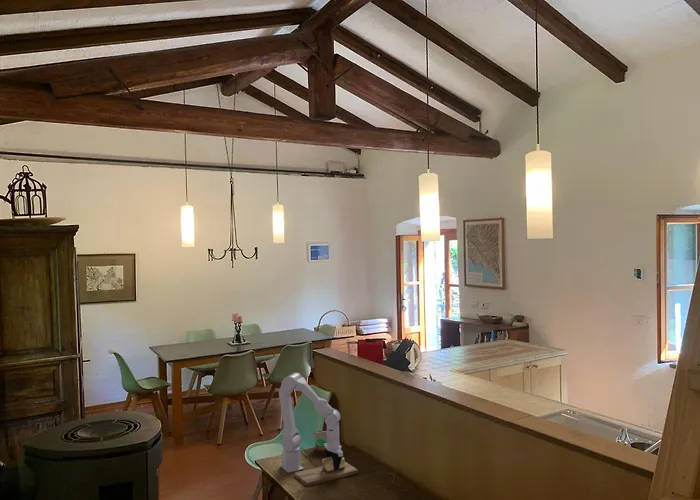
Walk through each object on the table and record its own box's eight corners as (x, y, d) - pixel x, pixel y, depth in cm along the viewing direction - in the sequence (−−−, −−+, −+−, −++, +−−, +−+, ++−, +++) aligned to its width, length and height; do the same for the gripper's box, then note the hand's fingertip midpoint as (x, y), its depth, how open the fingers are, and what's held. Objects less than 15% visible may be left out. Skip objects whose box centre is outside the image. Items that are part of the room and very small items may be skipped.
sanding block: (322, 469, 249) (322, 458, 249) (339, 465, 254) (339, 454, 254) (327, 473, 245) (327, 462, 245) (344, 469, 249) (344, 458, 249)
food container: (310, 452, 275) (310, 433, 275) (313, 448, 281) (313, 429, 281) (334, 453, 273) (334, 433, 273) (336, 449, 279) (336, 430, 279)
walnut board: (294, 476, 246) (294, 472, 246) (343, 464, 259) (343, 460, 259) (306, 486, 235) (306, 482, 235) (358, 473, 248) (358, 469, 248)
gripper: (348, 440, 245) (349, 470, 245) (333, 432, 258) (333, 460, 257) (334, 443, 241) (335, 474, 241) (319, 434, 254) (320, 463, 254)
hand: (333, 467), depth 249 cm, fingers closed on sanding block, 5 cm apart
